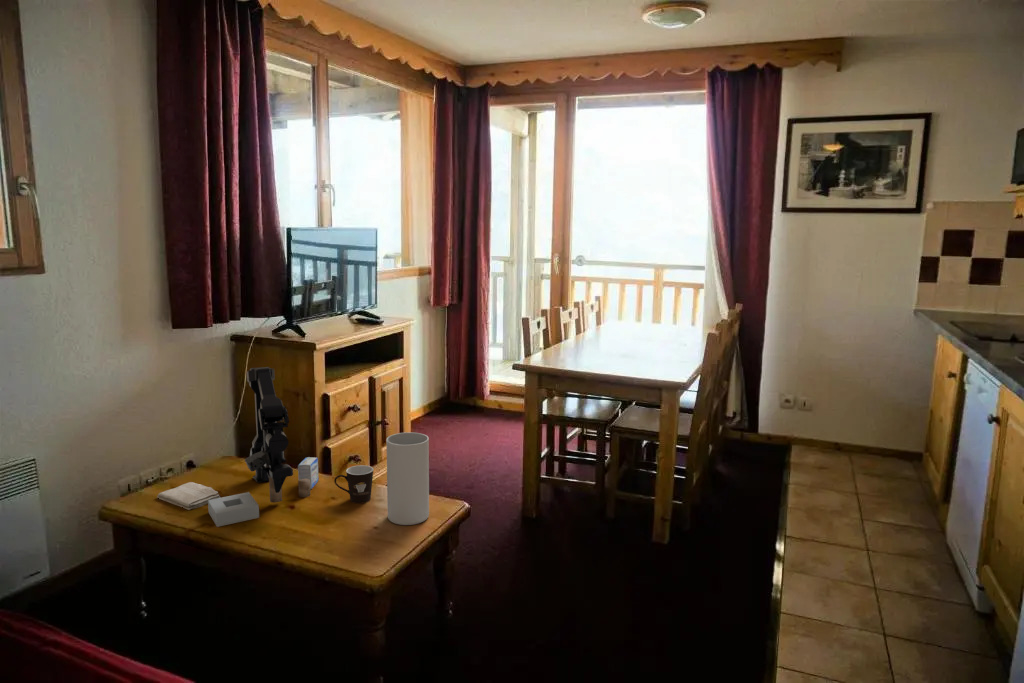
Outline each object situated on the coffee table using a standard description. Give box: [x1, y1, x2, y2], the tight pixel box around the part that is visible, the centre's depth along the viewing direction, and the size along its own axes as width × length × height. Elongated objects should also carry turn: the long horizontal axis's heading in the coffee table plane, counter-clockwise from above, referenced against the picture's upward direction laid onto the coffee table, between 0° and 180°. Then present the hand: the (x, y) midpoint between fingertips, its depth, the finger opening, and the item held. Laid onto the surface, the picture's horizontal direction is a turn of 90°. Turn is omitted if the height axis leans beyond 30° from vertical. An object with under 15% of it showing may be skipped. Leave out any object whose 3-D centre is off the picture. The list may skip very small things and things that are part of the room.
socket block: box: [207, 491, 260, 528], centre depth 207 cm, size 12×12×4 cm
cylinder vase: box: [386, 432, 430, 526], centre depth 205 cm, size 12×12×25 cm
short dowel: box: [298, 479, 311, 498], centre depth 223 cm, size 4×4×5 cm
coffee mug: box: [334, 464, 374, 504], centre depth 220 cm, size 12×9×10 cm
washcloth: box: [156, 481, 222, 511], centre depth 219 cm, size 12×18×3 cm, turn 59°
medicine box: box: [297, 456, 319, 490], centre depth 231 cm, size 8×4×9 cm, turn 179°
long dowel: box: [268, 477, 283, 504], centre depth 214 cm, size 4×4×9 cm
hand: (275, 490), depth 214 cm, fingers closed on long dowel, 4 cm apart
